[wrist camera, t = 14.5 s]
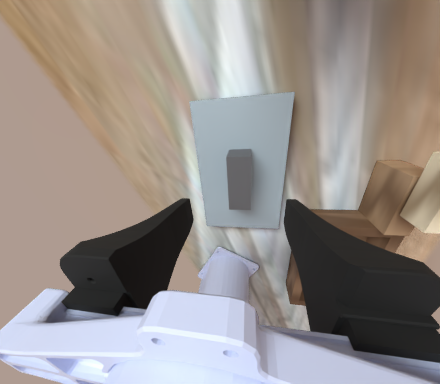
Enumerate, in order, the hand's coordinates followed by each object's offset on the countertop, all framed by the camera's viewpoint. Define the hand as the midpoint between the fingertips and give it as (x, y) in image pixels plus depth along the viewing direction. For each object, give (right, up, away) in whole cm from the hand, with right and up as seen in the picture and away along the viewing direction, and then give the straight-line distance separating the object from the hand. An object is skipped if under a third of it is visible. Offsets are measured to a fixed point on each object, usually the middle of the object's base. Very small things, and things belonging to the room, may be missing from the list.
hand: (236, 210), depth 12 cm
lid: (+1, +4, +8) cm, 9 cm away
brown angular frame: (+15, -5, +11) cm, 19 cm away
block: (+16, +2, +2) cm, 16 cm away
